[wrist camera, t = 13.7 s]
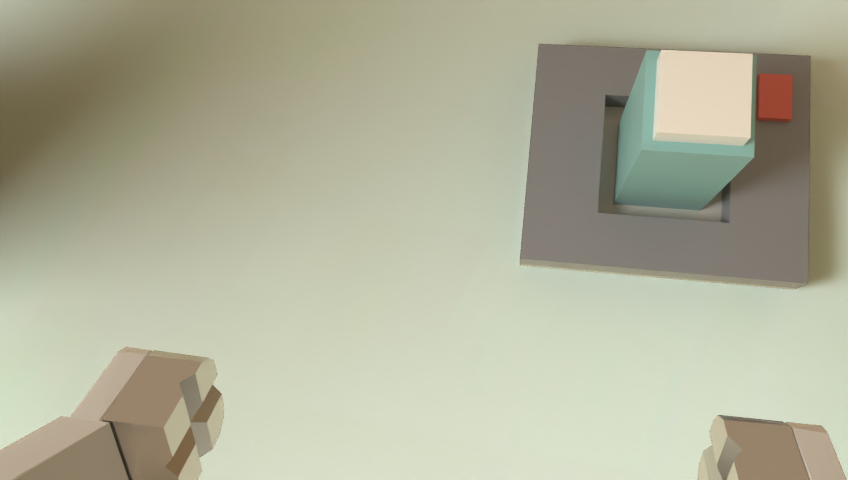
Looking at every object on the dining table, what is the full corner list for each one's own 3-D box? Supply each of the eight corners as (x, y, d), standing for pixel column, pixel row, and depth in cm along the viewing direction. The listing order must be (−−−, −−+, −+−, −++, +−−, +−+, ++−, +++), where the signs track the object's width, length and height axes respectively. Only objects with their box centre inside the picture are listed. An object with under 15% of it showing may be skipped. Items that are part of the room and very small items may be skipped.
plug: (613, 204, 39) (645, 141, 29) (618, 125, 40) (650, 39, 30) (700, 210, 38) (762, 149, 29) (703, 129, 39) (764, 44, 30)
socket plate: (519, 265, 39) (520, 257, 37) (537, 59, 42) (539, 40, 39) (792, 289, 37) (811, 282, 35) (796, 72, 40) (813, 52, 37)
